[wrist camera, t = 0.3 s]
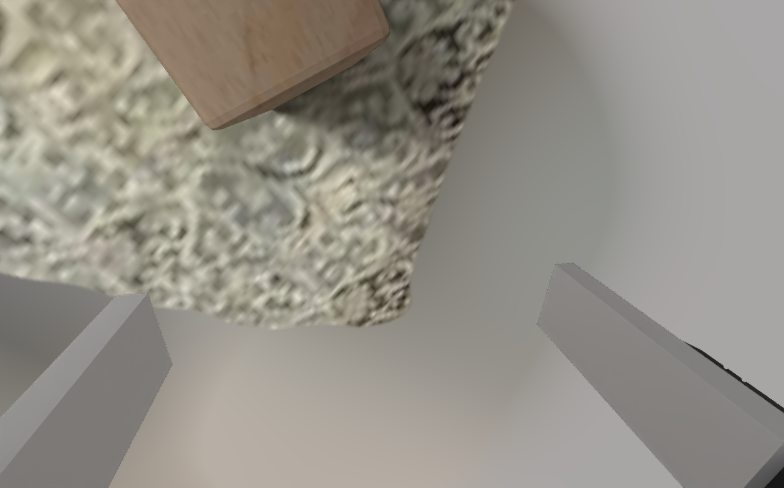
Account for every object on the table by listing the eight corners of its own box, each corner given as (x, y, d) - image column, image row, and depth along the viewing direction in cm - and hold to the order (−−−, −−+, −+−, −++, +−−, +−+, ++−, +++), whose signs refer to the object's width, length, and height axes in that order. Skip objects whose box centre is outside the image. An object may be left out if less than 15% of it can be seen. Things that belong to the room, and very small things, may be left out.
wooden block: (301, -55, 28) (267, -297, 11) (356, 64, 33) (395, 34, 15) (202, 1, 29) (5, -144, 11) (269, 111, 33) (209, 135, 15)
